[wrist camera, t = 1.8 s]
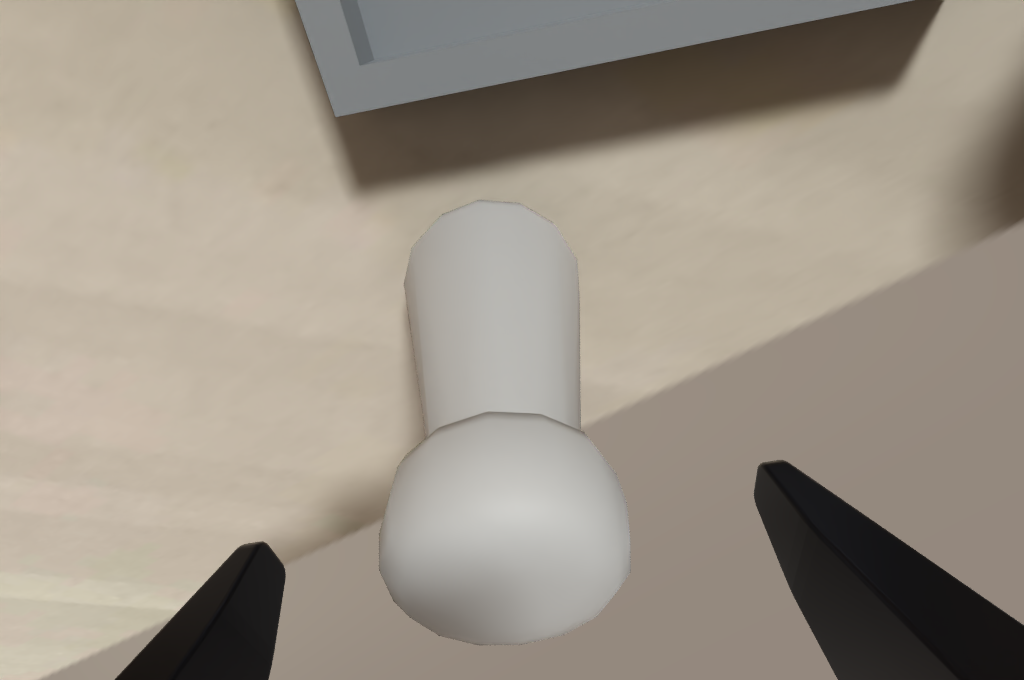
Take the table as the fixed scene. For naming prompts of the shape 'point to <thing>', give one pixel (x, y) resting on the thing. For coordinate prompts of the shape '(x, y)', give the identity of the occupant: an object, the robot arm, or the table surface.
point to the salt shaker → (500, 441)
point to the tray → (515, 39)
